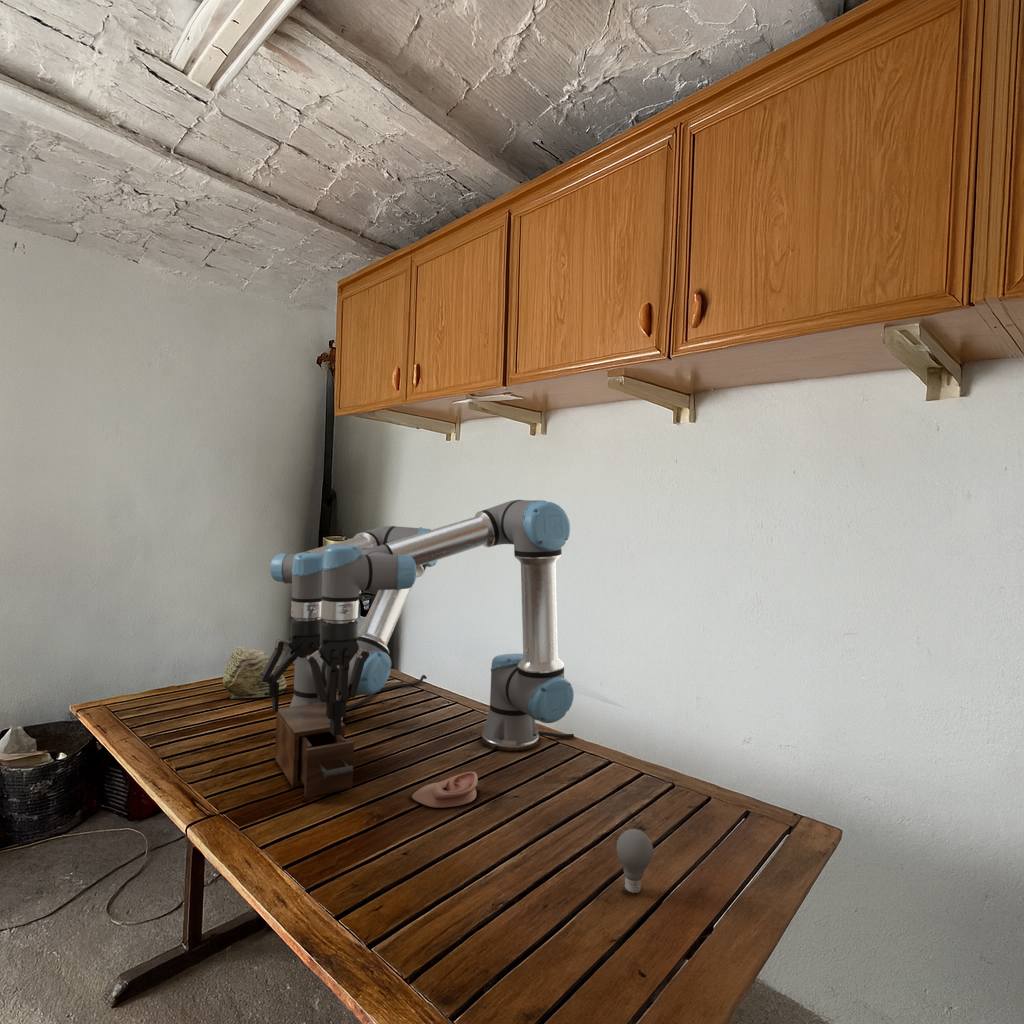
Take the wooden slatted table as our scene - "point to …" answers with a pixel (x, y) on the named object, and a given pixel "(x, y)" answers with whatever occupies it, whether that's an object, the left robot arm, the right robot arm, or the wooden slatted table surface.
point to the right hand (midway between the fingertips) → (335, 732)
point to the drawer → (325, 763)
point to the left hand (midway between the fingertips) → (304, 706)
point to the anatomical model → (449, 791)
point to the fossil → (248, 674)
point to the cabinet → (298, 735)
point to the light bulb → (634, 857)
